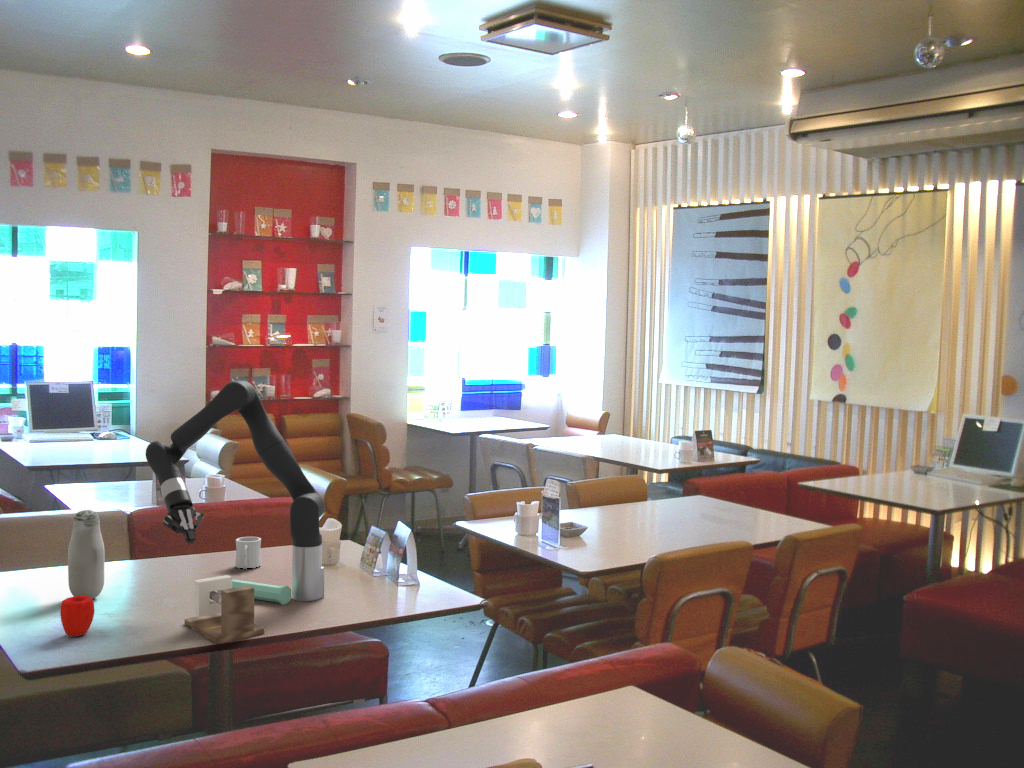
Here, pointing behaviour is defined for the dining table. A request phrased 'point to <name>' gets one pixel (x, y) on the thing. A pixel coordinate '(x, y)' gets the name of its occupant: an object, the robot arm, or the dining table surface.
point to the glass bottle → (86, 556)
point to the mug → (248, 552)
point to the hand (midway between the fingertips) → (191, 541)
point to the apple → (77, 614)
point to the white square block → (203, 594)
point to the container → (266, 591)
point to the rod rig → (229, 616)
